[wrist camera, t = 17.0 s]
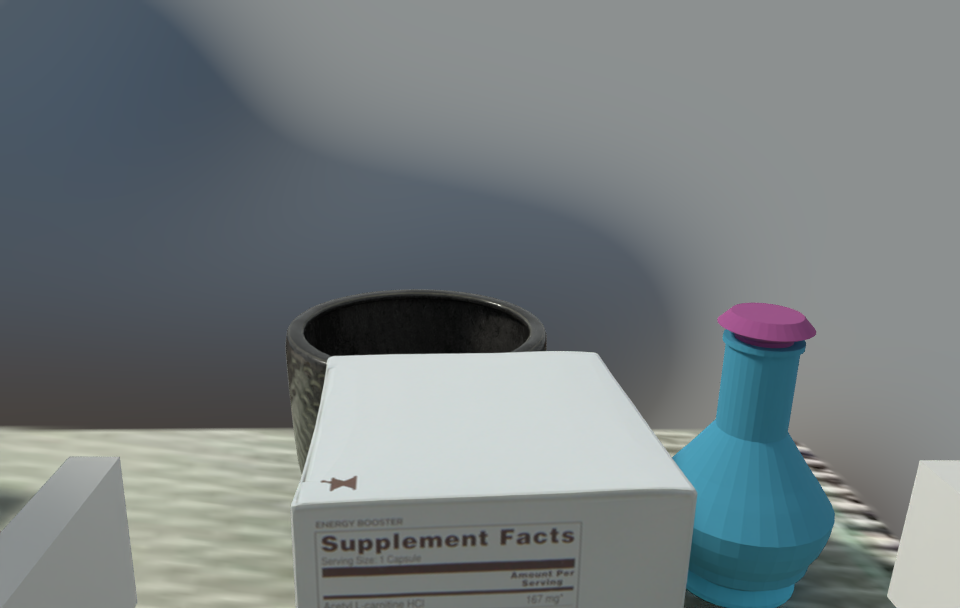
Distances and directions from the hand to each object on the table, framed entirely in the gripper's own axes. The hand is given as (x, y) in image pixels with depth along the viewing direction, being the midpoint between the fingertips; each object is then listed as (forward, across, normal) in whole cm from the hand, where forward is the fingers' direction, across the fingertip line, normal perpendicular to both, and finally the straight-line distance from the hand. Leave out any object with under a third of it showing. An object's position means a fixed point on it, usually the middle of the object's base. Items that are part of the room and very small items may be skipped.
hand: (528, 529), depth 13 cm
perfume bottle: (+24, +15, -19) cm, 34 cm away
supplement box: (+8, 0, -19) cm, 20 cm away
